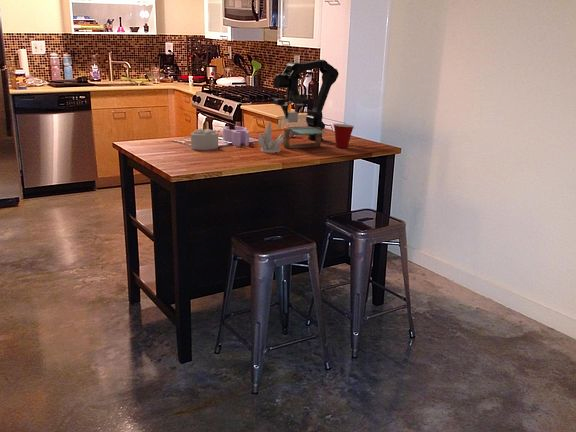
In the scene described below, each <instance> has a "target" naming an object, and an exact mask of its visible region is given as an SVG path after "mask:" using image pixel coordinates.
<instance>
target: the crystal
mask: <svg viewBox="0 0 576 432" xmlns="http://www.w3.org/2000/svg"><path fill="white" fill-rule="evenodd" d="M259 133H260V134H259V137H258V138H257V141H258V142H257V143H258V145H260V146H261V148H260V151H261V152H263V153H268V154H269V153H270V154H274V153H275V152H277V153H281V152H282V149H281V148H279V147H280V146H281V145H282V143H284V132H282V133H281V134H280V135H279V136H278V137H276V139H275V140H273V136H272V135H273V134H272V123H271V120H269V121H268V123H267V125H266V127H265V129H264V131H263V134H262V133H261V132H259ZM280 151H281V152H280ZM275 154H276V153H275Z"/></svg>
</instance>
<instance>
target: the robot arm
mask: <svg viewBox="0 0 576 432" xmlns="http://www.w3.org/2000/svg"><path fill="white" fill-rule="evenodd" d="M285 66H286V67H285V69H284V70H283V71H282V73H281V74H275V77H274V78H273V82H272V83H273V87H274V88H275V89H285V92H286V97H285V98H274V99H273V105H276V106H279V107H281V109H282V111H283V114H284V115H283V116H284V118H285V117H286V119H287V117H288V110H289V105H288V104H293V105H294V112H297V113H298V114H300V111H301V110H302V109H301V108H303V107H305V106H306V105H307V106H310V105H311V100H310V99H308V98H307V94H306V93H300V90H299V80H302V79H303V77H302V76H301V75H300V74H303V73H304V72H306V71H310V70H316V69H319V72H320V73H321V82H322V83H321V86H320V89H319V91H318V94H317V97H316V100H315V103H314V104H313V105H314V106H313V108H312V109H311V110H310V109H308V111H307V114H306V115H305V122H306V124H307V126H311V127H314V128H316V127H320V128H322V129H321V130H322V131H323V130H325V128H326V124H325V123H324V122H323V117H324V116H323V109H324V107H325V104H326V100H327V98H328V95H329V93H330V91H331V87H332V86H333V84H335V83H336V82H337V80H338V78H339V74H340V73H339V70H338V69H337V68H335V67H334V66H333V65H331V64H330V63H328V61H326V60H325V59H320V58H319V59H315V60H312V61H306V62H293V61H292V62H291V61H289V62H287V63H286V65H285ZM307 139H308V140H311V141H315V140H316V134H314V135H308V137H307ZM323 140H324V138H323V133H321V141H323Z"/></svg>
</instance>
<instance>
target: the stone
mask: <svg viewBox="0 0 576 432" xmlns="http://www.w3.org/2000/svg"><path fill="white" fill-rule="evenodd" d="M298 119H299V113H297V112H295V110H291V111H288V117H287V119H286V117H285V116H284V122H286V123H289V124H290V123H298Z"/></svg>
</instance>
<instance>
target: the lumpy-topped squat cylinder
mask: <svg viewBox="0 0 576 432" xmlns="http://www.w3.org/2000/svg"><path fill="white" fill-rule="evenodd" d="M190 149H192V150H200V151H207V150H215V149H219V133H218V132H216V131H215V130H213V129H210V128H206V129H202V128H198V129H195V130H194V131H192V132H191V133H190Z"/></svg>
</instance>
